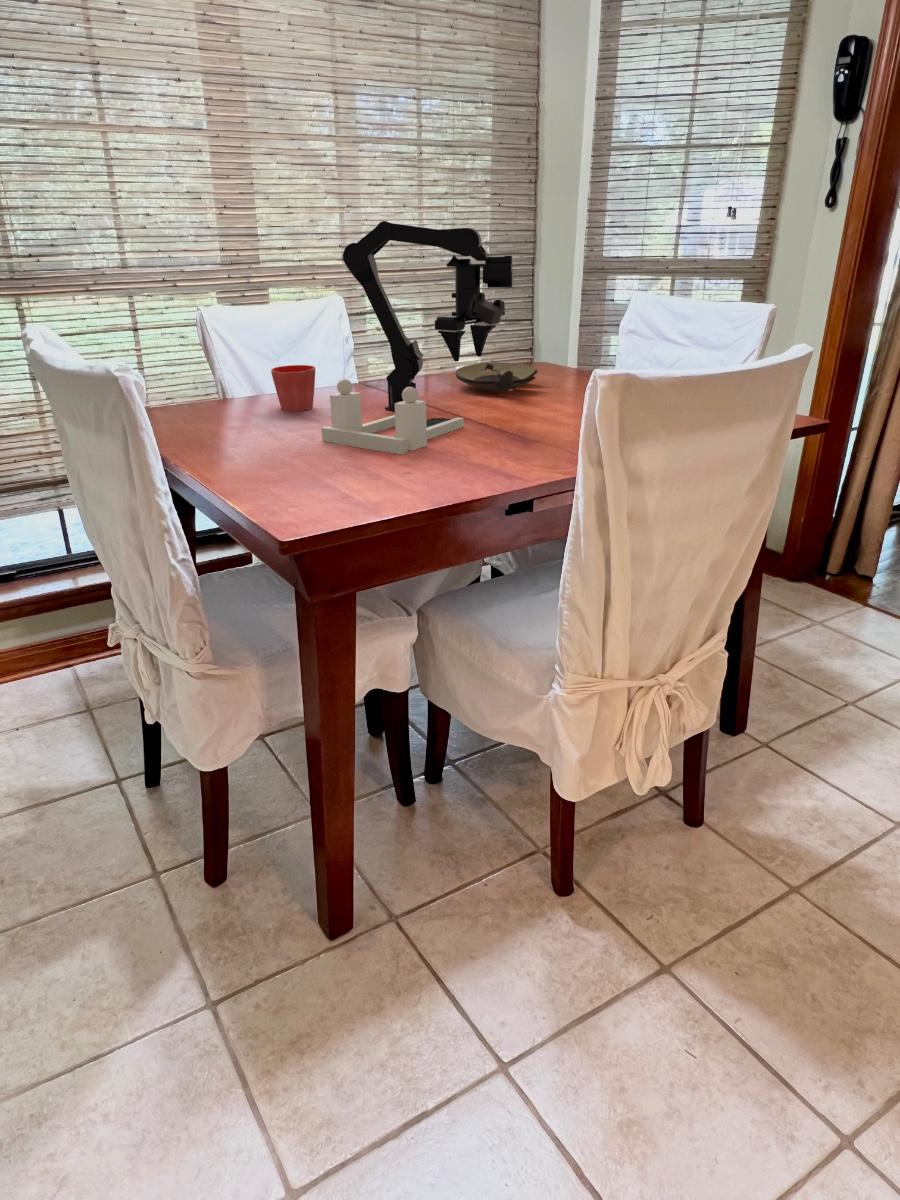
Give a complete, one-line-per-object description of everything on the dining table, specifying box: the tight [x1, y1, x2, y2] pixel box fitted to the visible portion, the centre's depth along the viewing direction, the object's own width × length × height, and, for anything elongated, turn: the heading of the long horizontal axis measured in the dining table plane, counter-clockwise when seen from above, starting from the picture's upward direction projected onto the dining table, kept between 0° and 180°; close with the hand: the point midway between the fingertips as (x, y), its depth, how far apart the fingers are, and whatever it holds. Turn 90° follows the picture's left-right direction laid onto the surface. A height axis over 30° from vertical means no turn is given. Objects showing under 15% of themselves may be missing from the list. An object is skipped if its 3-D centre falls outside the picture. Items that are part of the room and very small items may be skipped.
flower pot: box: [270, 364, 316, 412], centre depth 199 cm, size 11×11×10 cm
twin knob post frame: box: [321, 378, 465, 456], centre depth 172 cm, size 21×26×12 cm
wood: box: [394, 417, 452, 437], centre depth 177 cm, size 22×7×3 cm, turn 150°
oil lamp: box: [455, 361, 538, 392], centre depth 219 cm, size 22×30×8 cm
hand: (467, 358), depth 192 cm, fingers open, 9 cm apart
